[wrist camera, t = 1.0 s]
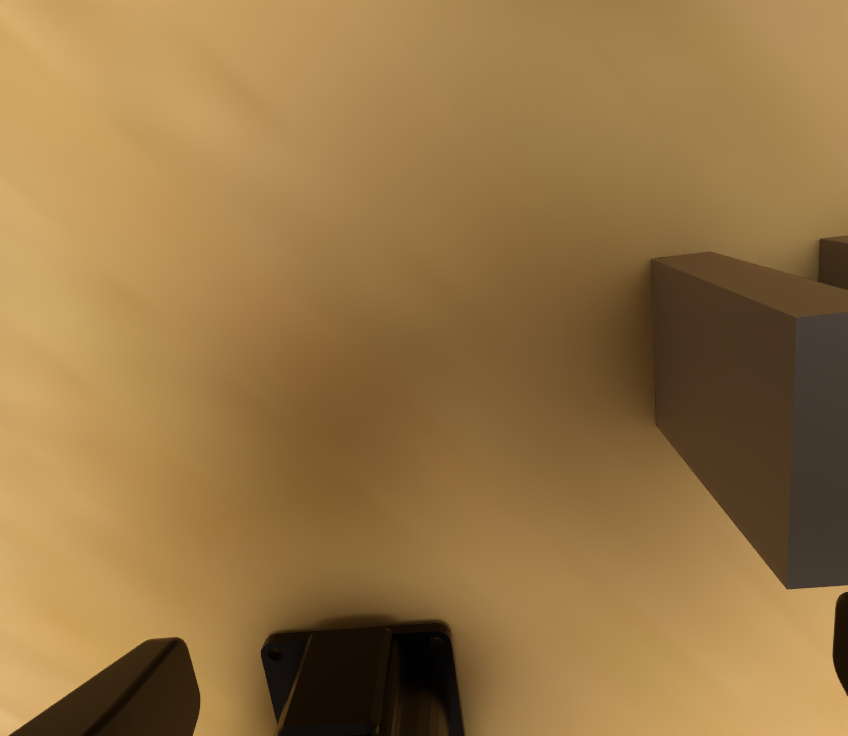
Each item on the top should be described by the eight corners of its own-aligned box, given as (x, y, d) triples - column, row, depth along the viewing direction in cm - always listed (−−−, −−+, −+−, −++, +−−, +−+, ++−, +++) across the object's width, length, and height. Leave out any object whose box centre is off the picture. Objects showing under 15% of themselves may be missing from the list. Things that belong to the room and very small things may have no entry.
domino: (710, 419, 19) (881, 583, 11) (655, 425, 19) (787, 589, 11) (710, 251, 18) (903, 306, 10) (651, 258, 18) (797, 317, 10)
